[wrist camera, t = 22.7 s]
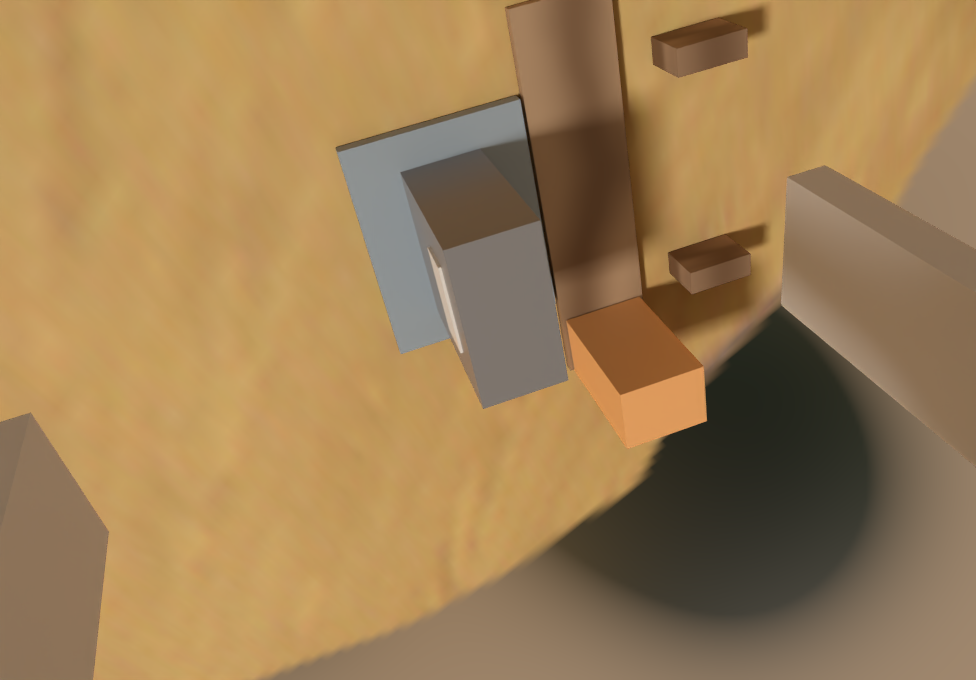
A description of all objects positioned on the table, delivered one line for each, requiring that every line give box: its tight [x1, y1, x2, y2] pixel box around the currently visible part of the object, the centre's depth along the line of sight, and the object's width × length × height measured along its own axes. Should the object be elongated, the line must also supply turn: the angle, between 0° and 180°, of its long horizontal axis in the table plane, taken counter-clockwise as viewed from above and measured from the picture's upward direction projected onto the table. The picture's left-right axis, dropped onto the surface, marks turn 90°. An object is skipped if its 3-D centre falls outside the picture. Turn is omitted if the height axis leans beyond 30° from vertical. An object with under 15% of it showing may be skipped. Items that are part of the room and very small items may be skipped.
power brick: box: [400, 149, 568, 409], centre depth 42 cm, size 5×9×10 cm, turn 11°
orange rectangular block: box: [566, 297, 707, 449], centre depth 50 cm, size 5×4×8 cm
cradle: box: [505, 0, 751, 371], centre depth 47 cm, size 12×23×3 cm, turn 11°
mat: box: [336, 95, 556, 354], centre depth 47 cm, size 10×13×1 cm
